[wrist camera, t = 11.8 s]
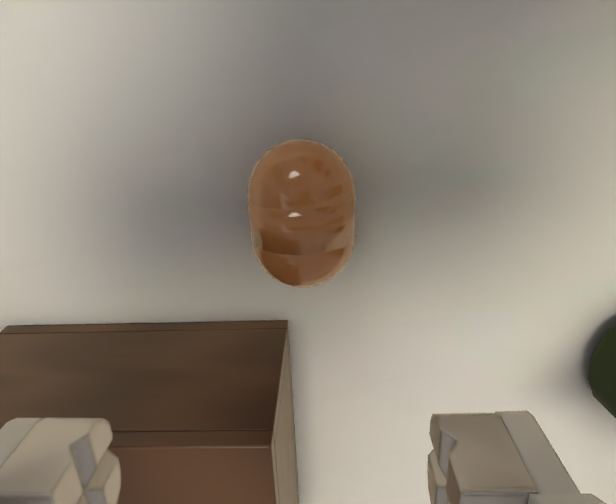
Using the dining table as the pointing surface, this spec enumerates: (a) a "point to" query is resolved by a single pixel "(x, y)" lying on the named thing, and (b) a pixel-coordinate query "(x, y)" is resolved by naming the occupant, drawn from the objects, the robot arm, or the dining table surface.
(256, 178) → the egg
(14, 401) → the cabinet
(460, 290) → the dining table surface
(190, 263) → the dining table surface
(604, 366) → the character mug
